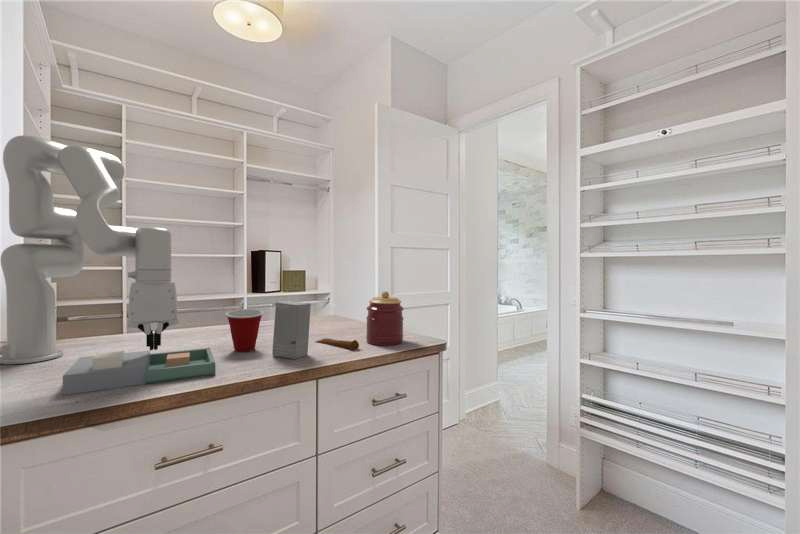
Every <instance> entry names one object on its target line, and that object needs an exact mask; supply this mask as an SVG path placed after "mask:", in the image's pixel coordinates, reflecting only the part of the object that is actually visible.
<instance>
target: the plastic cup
mask: <svg viewBox="0 0 800 534" xmlns="http://www.w3.org/2000/svg"><path fill="white" fill-rule="evenodd" d="M263 315H264V311H263V310H260V309H254V308H251V309H250V308H249V309H248V308H246V309H245V308H243V309H235V310H230V311H227V312H226V313H225V316H226V317H227V320H228V324H229V327H230V328H229V330H230V334H231V340H232V345H233V349H234V352H236V351H237V353H246V351H248V352H251V351H254V350H255V349H256V344H257V339H258V335H259V329H260V323H261V319H262V316H263Z"/></svg>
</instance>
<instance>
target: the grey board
mask: <svg viewBox="0 0 800 534" xmlns="http://www.w3.org/2000/svg"><path fill="white" fill-rule="evenodd" d="M150 354H151V350H142V351H131V352H124V363H123V365H122V367H119V368H110V369H101V370H93V366H92V359H93V358H94V356H95V355H90V356H81V357H79V358H78V359H77V360H76V361H75V362H74V363H73V364H72V365H71V366H70V367H69V369H67V370H66V371H65V373H63V375H62V395H63V396H64V395H66V396H67V395H73V394H79V393H86V392H87V393H89V392H93V391H94V392H95V391H102V390H109V389H118V388H125V387H131V386H139V385H147V384H146V370H149V366H150Z"/></svg>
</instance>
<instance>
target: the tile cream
mask: <svg viewBox="0 0 800 534" xmlns="http://www.w3.org/2000/svg"><path fill="white" fill-rule="evenodd" d="M124 353H125V350H122V351H121V350H120V351H109V352H100V353H96V354H95V355H93V356H94V358H93V359H92V366H93V370H101V369H110V368H119V367H122V365H123V363H124Z"/></svg>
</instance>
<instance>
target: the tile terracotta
mask: <svg viewBox="0 0 800 534" xmlns="http://www.w3.org/2000/svg"><path fill="white" fill-rule="evenodd" d="M183 365H190V352H188V353H178V354H168V355H167V359H166V367H175V366H183Z"/></svg>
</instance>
